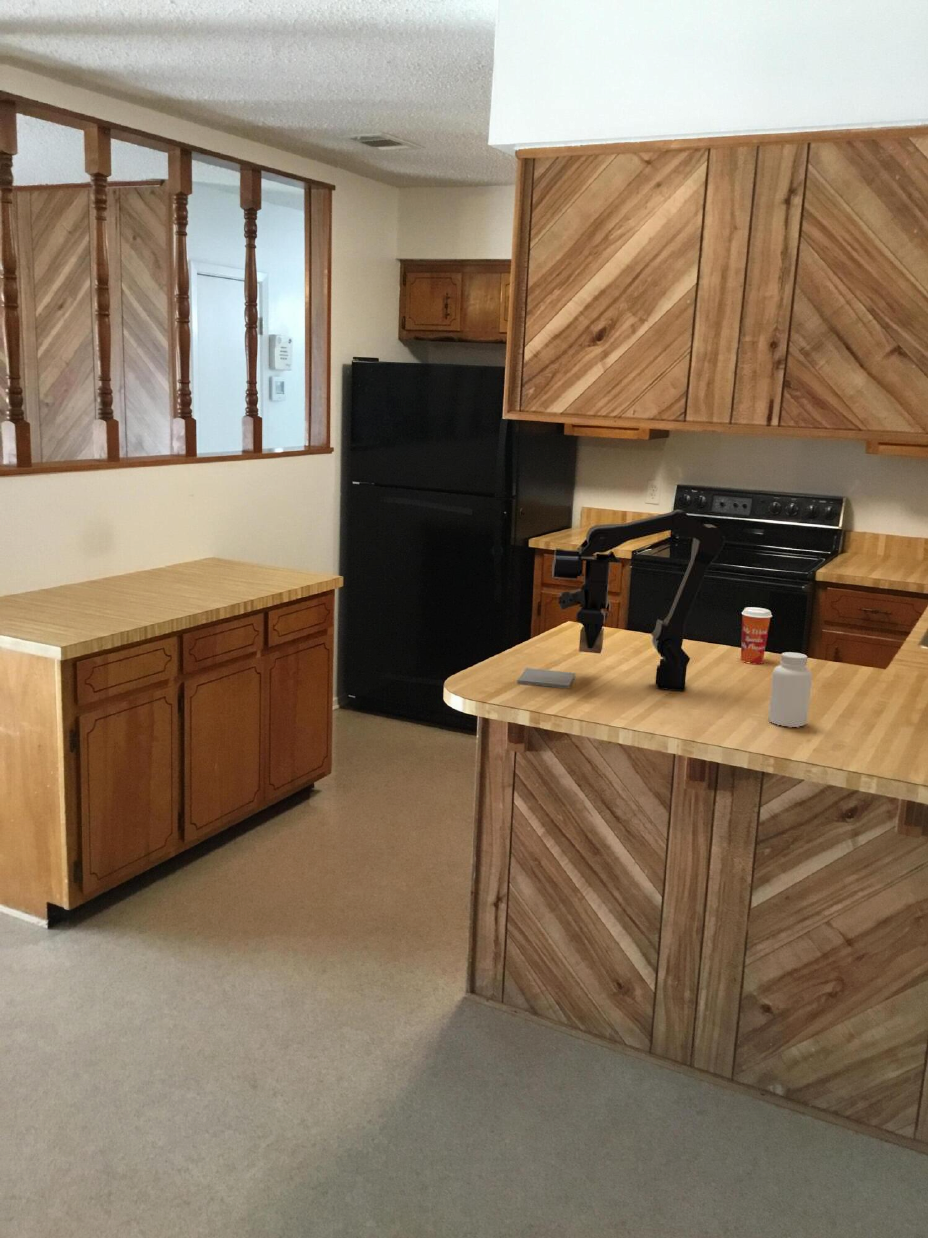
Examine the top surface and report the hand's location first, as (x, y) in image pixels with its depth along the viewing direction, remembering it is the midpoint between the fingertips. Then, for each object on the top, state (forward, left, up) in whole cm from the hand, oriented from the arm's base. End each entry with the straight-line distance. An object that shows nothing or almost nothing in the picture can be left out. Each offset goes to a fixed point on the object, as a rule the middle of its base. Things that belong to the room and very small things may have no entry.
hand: (591, 645), depth 252 cm
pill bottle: (-44, +16, -9) cm, 48 cm away
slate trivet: (+10, +1, -9) cm, 13 cm away
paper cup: (-39, -39, -9) cm, 56 cm away
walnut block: (0, 0, -1) cm, 1 cm away
